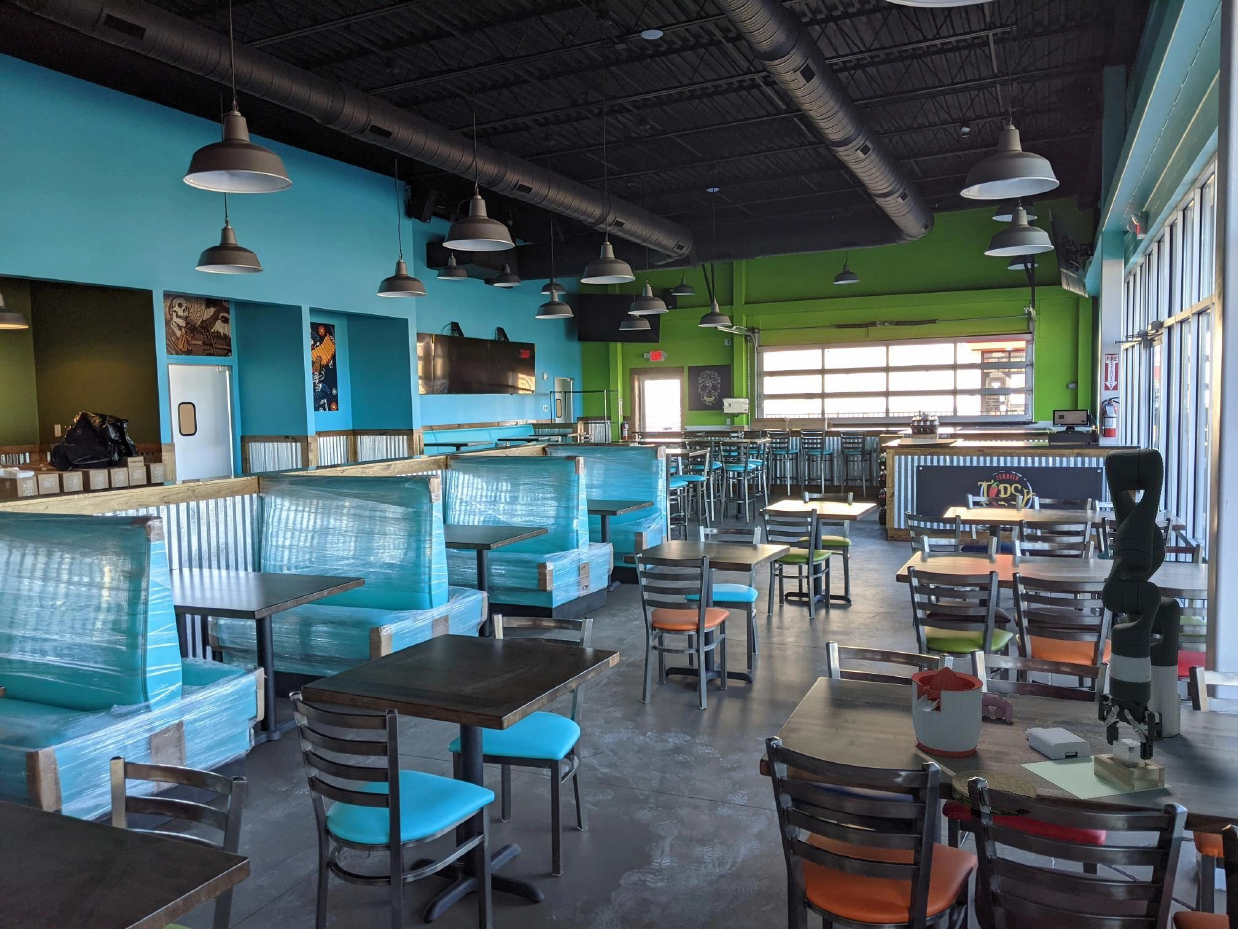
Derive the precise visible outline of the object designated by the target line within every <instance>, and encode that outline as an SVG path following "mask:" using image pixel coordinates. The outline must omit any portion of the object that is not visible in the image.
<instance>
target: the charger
mask: <svg viewBox="0 0 1238 929" xmlns="http://www.w3.org/2000/svg"><path fill="white" fill-rule="evenodd" d="M1024 734H1025V735H1026V736H1028V745H1029V746H1030V747H1031V748H1034V750H1037V751H1039V752H1040V753H1041V754H1043V755H1045V756H1047V757H1048V758H1050V759H1052V760H1061V759H1066V756H1076V757H1077V758H1078V757H1086V756H1091V743H1090V741H1087V740H1085V739H1083V738H1082V737H1079V736H1078V735H1076V734H1074V733H1072V732H1070V731H1069V730H1067V729H1065V728H1063V727H1052V728H1050V727H1049V728H1043V727H1031V728H1028V727H1027V728H1026V730H1025V732H1024Z"/></svg>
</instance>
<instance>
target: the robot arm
mask: <svg viewBox="0 0 1238 929" xmlns="http://www.w3.org/2000/svg"><path fill="white" fill-rule="evenodd" d="M1164 468H1165V467H1164V460H1163V457H1162V454H1161V452H1160V451H1159V450H1157V449H1155V448H1136V449H1133V448H1131V449H1117V450H1112V451H1111V450H1110V451H1109V452H1108V453H1107V454H1106V457H1105V460H1104V470H1105V478H1106V482H1107V486H1108V487H1107V488H1108V492H1109V494H1110V498H1111V503H1112V508H1113V512H1114V519H1115V529H1116V533H1115V537H1114V547H1113V550H1114V551H1113V560H1112V561H1113V562H1112V566H1111V569H1110V572H1109V574H1108V575H1107V576H1108V577H1107V578H1106V580H1105V583H1104V584H1103V588H1102V590H1101V597H1100V598H1101V603H1102V605H1103V606H1104V608H1105V609H1106V610H1107V611H1108V612H1111V613H1116V614H1117V613H1118V614H1126V618H1127V622H1126V623H1118V624H1114V625H1113V626H1112V628H1111V631H1110V632H1111V634H1110V635H1111V636H1110V657H1109V668H1108V669H1109V670H1108V671H1109V673H1108V674H1109V675H1108V693H1107V692H1106V693H1099V696H1098V710H1097V711H1098V714H1097V720H1098V721H1099V722H1102V723H1103V724H1104V726H1105V727H1106V733H1105V734H1106V737H1105V738H1106V741H1107V745H1110V746H1113V741H1114V740H1120V739H1119V735H1120V734H1119V733H1120V731H1119V730H1120V729H1119V728H1120V727H1118V725H1120V723H1121V722H1122V723H1126V724H1127V725H1128V726H1131V727H1132V729H1133V731H1135V733H1137V734H1138V737H1139V738H1140V741H1139V743H1140V758H1141V759H1143V760H1149V761H1151V759H1152V758H1153V757H1154V743H1158V742H1163V740H1164V738H1170V737H1171V738H1172V737H1175V736H1177V735H1178V734H1180V733H1181V718H1182V717H1181V714H1182V713H1181V710H1182V709H1181V707H1182V705H1181V704H1182V696H1181V694H1180V693H1179V692H1178V691H1179V690H1178V689H1179V688H1178V687H1179V686H1178V682H1179V680H1178V679H1179V647H1180V646H1179V645H1180V639H1179V638H1180V629H1181V628H1180V627H1181V613H1182V612H1181V610H1182V609H1181V606H1180V603H1179V601H1178V599H1176V598H1173V597H1168V596H1167V597H1166V596H1162V593H1161V589H1160V588H1159V586H1158V585H1157V584H1156V583H1154V582H1152V581H1149V580H1150V578H1152V577H1153V576H1154V574H1156V572H1157V571H1159V569H1160V567H1162V565H1163V563H1164V561H1165V558H1166V548H1165V540H1164V534H1163V531H1162V529H1161V527H1160V526H1159V525H1158V524H1157V522H1156V521H1157V516H1158V511H1159V507H1160V501H1161V496H1162V490H1163V484H1164V477H1165V475H1164V474H1165V470H1164ZM1129 491H1143V494H1142V496H1141V499H1140V500H1139V502H1138V503H1136V502H1135V501H1134V499H1133V498H1132V496H1131V493H1130V492H1129ZM1152 635H1160V636H1161V639H1160V640H1159V641H1157V642H1155V643H1151V636H1152Z"/></svg>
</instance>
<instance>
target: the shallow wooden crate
mask: <svg viewBox="0 0 1238 929" xmlns="http://www.w3.org/2000/svg"><path fill="white" fill-rule="evenodd" d="M1093 756H1094V755H1093ZM1165 769H1166V768H1165V766H1162V765H1160V764H1158V763H1155V762H1154V761H1151V760H1145V766H1144V767H1137V768H1129V769H1128V768H1126V767H1124V766H1122V765H1120V764H1118V763H1116V762H1114V761H1113V753H1106V754H1104V755H1102V754H1096V756H1094V774H1095V775H1097V776H1099V777H1100V778H1102V779H1104V780H1106V781H1108V782H1110V783H1112V784H1114V785H1116V786H1118V787H1120V788H1122V789H1124V790H1126V791H1135V790H1143V789H1150V788H1157V787H1164V783H1165V778H1166V777H1165V775H1166V774H1165V771H1166V770H1165Z"/></svg>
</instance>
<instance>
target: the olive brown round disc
mask: <svg viewBox="0 0 1238 929" xmlns="http://www.w3.org/2000/svg"><path fill="white" fill-rule="evenodd" d="M974 776H976V777H982V778H984V779H986V780H987V783H988V786H989V787H990V788H995V789H997V790H1005V791H1010V792H1013V793H1016V794H1020V795H1026V796H1030V797H1032V798H1035V799H1037V800H1038V791H1037V788H1036V787H1035V786H1034V785H1033V784H1032V783H1031V782H1029V781H1028V780H1026V779H1025V778H1022V777H1020V776H1017V775H1014V774H1012V773H1007V772H1004V771H1003V772H1002V771H998V770H989V769H970V770H963V771H960V772H957V773H955V774H954V776H953V777H951V792H952V793H951V796H952V797H953V798H954V800H955V801H956V802H957V803H959V804H960V805H962V806H964V807H966V808H968V809H971V804H970V801H969V793H968V787H967V780H968V779H970V777H974ZM971 810H972V809H971ZM989 815H994V816H999V817H1017V816H1020V815H1019V814H1014V813H1011V812H1006V811H1005V810H1000V809H994V808H991V809H990V814H989Z"/></svg>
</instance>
